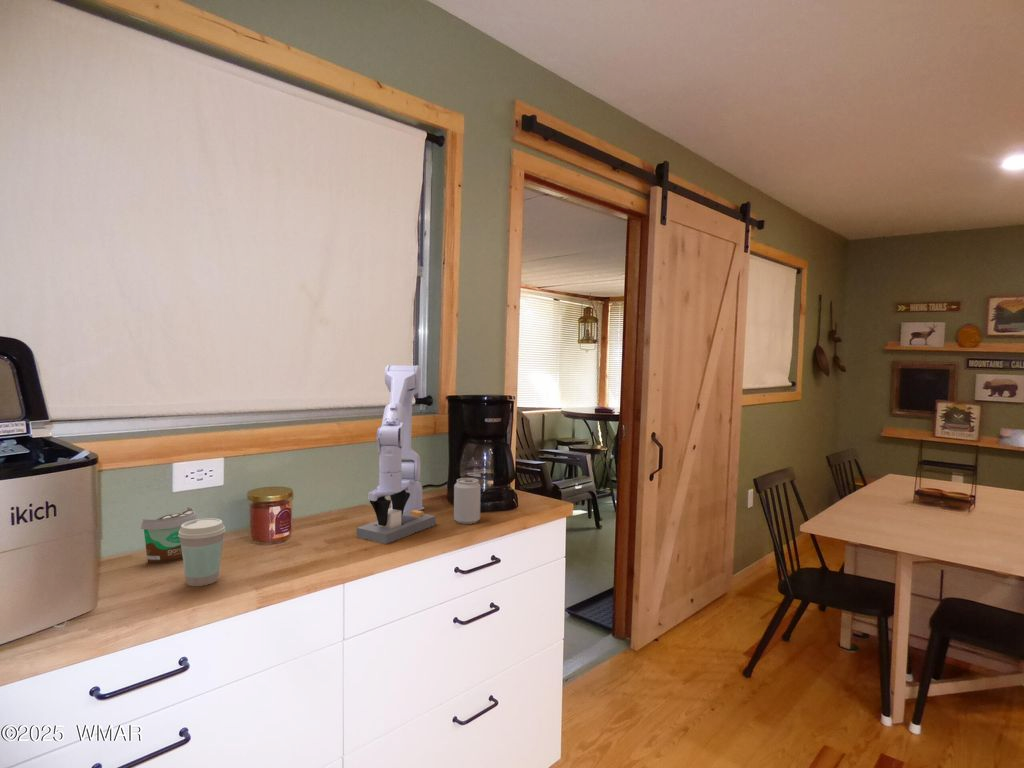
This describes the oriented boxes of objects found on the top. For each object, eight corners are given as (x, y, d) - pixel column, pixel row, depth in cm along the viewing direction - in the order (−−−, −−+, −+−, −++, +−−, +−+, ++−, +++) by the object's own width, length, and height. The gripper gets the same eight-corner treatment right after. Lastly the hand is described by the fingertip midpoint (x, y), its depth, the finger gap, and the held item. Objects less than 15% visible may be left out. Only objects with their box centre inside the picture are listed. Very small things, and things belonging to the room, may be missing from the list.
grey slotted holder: (407, 519, 167) (407, 507, 167) (435, 524, 162) (435, 512, 162) (356, 537, 150) (356, 523, 150) (385, 544, 145) (385, 530, 145)
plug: (388, 530, 156) (388, 508, 156) (401, 533, 154) (401, 510, 154) (376, 534, 152) (377, 512, 152) (390, 537, 150) (390, 514, 150)
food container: (161, 568, 126) (161, 522, 126) (141, 564, 128) (140, 519, 128) (209, 551, 138) (209, 509, 137) (189, 547, 140) (189, 506, 139)
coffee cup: (205, 570, 125) (205, 515, 125) (235, 577, 122) (234, 520, 121) (168, 585, 117) (167, 526, 117) (199, 592, 114) (198, 531, 113)
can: (482, 518, 169) (483, 477, 169) (476, 525, 162) (477, 482, 161) (457, 516, 171) (458, 476, 170) (450, 523, 163) (451, 481, 163)
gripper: (396, 465, 161) (395, 513, 161) (359, 474, 148) (359, 526, 149) (416, 467, 157) (416, 517, 158) (380, 477, 145) (380, 531, 145)
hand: (390, 522), depth 153 cm, fingers open, 5 cm apart
